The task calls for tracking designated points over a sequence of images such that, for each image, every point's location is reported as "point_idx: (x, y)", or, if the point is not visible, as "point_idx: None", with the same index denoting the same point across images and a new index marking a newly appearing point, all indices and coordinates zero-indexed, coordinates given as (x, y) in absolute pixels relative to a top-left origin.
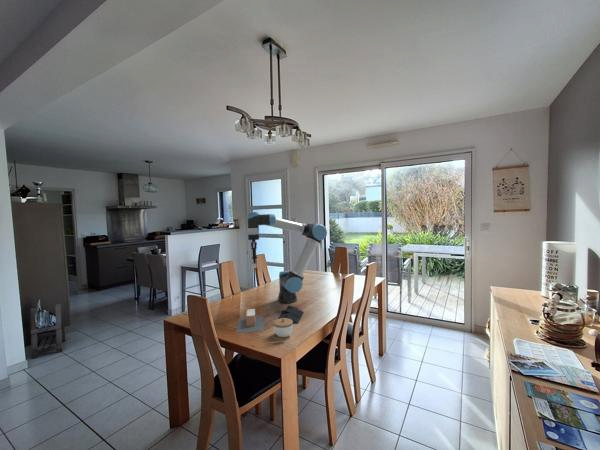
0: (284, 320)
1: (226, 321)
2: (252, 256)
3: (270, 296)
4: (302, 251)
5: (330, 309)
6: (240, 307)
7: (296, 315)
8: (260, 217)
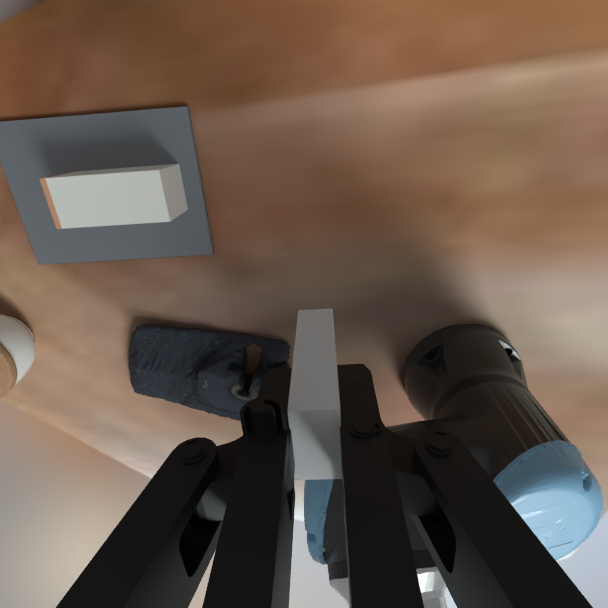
0: None
1: (155, 20)
2: (434, 434)
3: (584, 282)
4: None
5: None
6: (413, 83)
7: (191, 399)
8: None
